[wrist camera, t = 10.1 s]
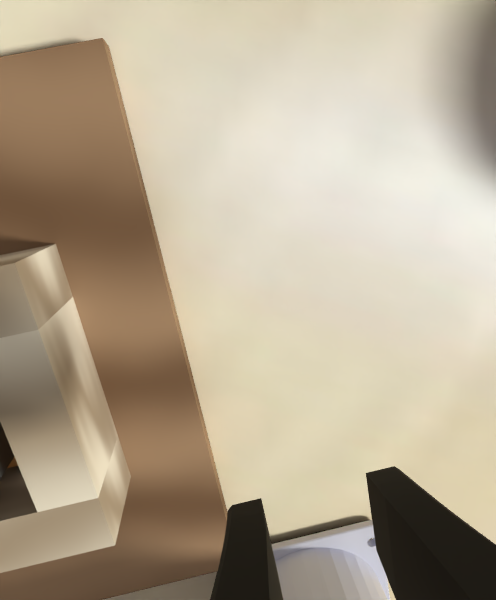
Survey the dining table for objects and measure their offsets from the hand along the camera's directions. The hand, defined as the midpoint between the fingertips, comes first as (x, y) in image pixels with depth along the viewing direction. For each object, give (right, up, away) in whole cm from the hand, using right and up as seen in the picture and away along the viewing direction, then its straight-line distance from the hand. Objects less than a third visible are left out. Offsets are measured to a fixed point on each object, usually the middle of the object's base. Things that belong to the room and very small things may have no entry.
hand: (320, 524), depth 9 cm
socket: (-12, +1, +9) cm, 15 cm away
